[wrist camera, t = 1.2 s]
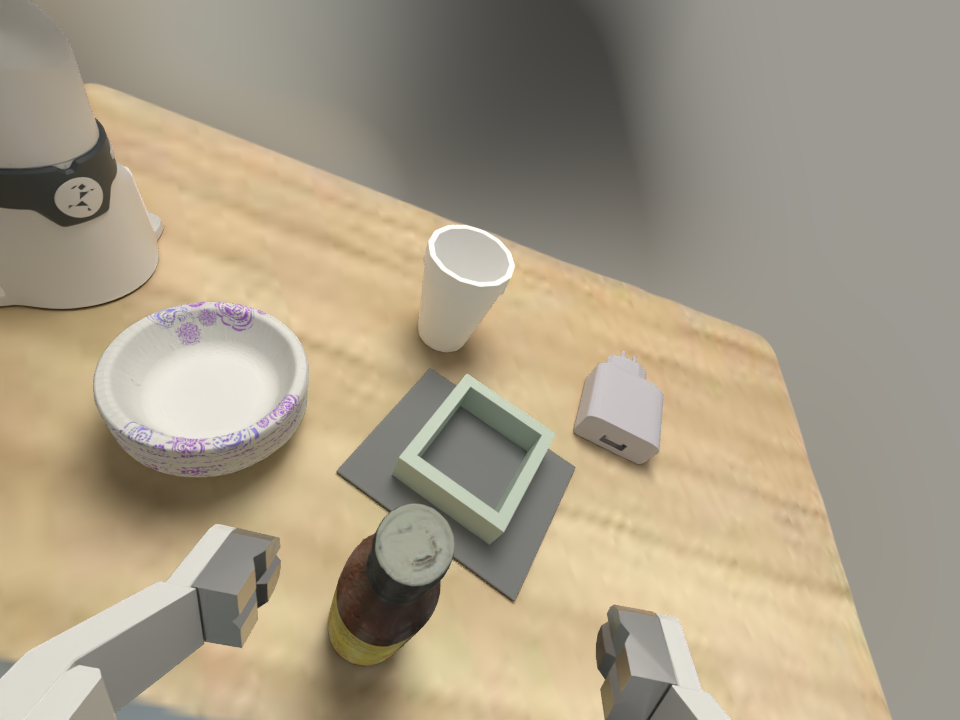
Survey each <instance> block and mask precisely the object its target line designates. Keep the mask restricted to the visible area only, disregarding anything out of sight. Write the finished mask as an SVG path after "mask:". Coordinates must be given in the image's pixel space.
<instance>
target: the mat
mask: <svg viewBox="0 0 960 720" xmlns="http://www.w3.org/2000/svg"><path fill="white" fill-rule="evenodd" d="M455 387H456V385H455V384H453V383H452V382H450V381H449V380H447V379H446V378H444V377H443V376H441V375H440V374H438V373H437V372H435V371H434V370H433V369H431V368H430V369H429V370H428V371H427V372H426V373H425V374H424V375H423V376H422V378H421V379H420V380H419V381H418V382H417V383H416V384H415V385H414V386H413V387H412V389H411V390H410V391H409V392H408V393H407V394H406V395H405V396H404V397H403V398H402V400H401V401H400V402H399V403H398V404H397V405H396V406H395V407H394V408H393V409H392V411H391V412H390V413H389V414H388V415H387V416H386V417H385V418H384V419H383V420H382V422H381V423H380V424H379V425H378V426H377V427H376V428H375V429H374V430H373V431H372V433H371V434H370V435H369V436H368V437H367V438H366V439H365V440H364V441H363V442H362V444H361V445H360V446H359V447H358V448H357V449H356V450H355V451H354V452H353V453H352V455H351V456H350V457H349V458H348V459H347V460H346V461H345V462H344V463H343V464H342V466H341V467H340V468H339V469H338V470H337V473H338V474H339V475H341V476H342V477H343V478H345V479H346V480H348V481H349V482H350V483H352V484H353V485H354V486H356V487H357V488H359V489H360V490H361V491H363V492H364V493H365V494H367V495H368V496H370V497H371V498H372V499H374V500H375V501H376V502H378V503H379V504H380V505H382V506H383V507H385V508H386V509H387V510H389V511H392V510H394V509H396V508H398V507H400V506H402V505H407V504H423V505H426V506H428V507H431V508H433V509H435V510H436V511H438V512H439V513H440V514H441V515H442V516H443V517H444V518H445V519H446V520H447V521H448V523H449V526H450V528H451V530H452V532H453V535H454V540H455V552H454V556H453V558H454V559H456V560H457V561H459V562H460V563H461V564H463V565H464V566H465V567H467V568H468V569H470V570H471V571H472V572H474V573H475V574H476V575H478V576H479V577H480V578H482V579H483V580H485V581H486V582H487V583H489V584H490V585H491V586H493V587H494V588H496V589H497V590H498V591H500V592H501V593H502V594H504V595H505V596H507V597H508V598H509V599H511V600H512V601H515V599H516V597H517V595H518V592H519V590H520V588H521V586H522V584H523V581H524V579H525V577H526V575H527V573H528V570H529V568H530V566H531V564H532V562H533V559H534V557H535V555H536V553H537V551H538V548H539V546H540V544H541V542H542V540H543V537H544V535H545V533H546V531H547V529H548V526H549V524H550V522H551V520H552V518H553V515H554V513H555V511H556V509H557V507H558V505H559V502H560V500H561V498H562V496H563V494H564V491H565V489H566V487H567V485H568V483H569V480H570V478H571V476H572V474H573V472H574V469H575V467H574V466H573V465H572V464H570V463H569V462H567V461H566V460H564V459H563V458H561V457H560V456H558V455H557V454H555V453H554V452H552V451H551V450H550V449H548V450H547V452H546V453H545V455H544V457H543V459H542V461H541V463H540V465H539V467H538V469H537V471H536V472H535V474H534V476H533V478H532V480H531V482H530V484H529V486H528V488H527V489H526V491H525V493H524V495H523V497H522V499H521V501H520V503H519V505H518V507H517V508H516V510H515V512H514V514H513V516H512V518H511V520H510V522H509V524H508V526H507V527H506V529H505V531H504V533H503V534H501V535H500V536H499V537H498V538H497V539H496V540H495V541H493V542H492V543H491V544H490V545H489V544H487V543H486V542H485V541H483V540H482V539H480V538H479V537H478V536H476V535H475V534H473V533H472V532H471V531H469V530H468V529H466V528H465V527H464V526H462V525H461V524H460V523H458V522H457V521H455V520H454V519H453V518H451V517H450V516H448V515H447V514H446V513H444V512H443V511H441V510H440V509H439V508H437V507H436V506H434V505H433V504H432V503H430V502H429V501H428V500H426V499H425V498H423V497H422V496H421V495H419V494H418V493H416V492H415V491H414V490H412V489H411V488H409V487H408V486H407V485H405V484H404V483H403V482H401V481H400V480H398V479H397V478H396V477H394V476H393V475H392V473H393V471H394V468H395V466H396V463H397V461H398V458H399V456H400V455H401V454H402V453H403V452H404V450H405V449H406V448H407V447H408V445H409V444H410V443H411V442H412V440H413V439H414V438H415V437H416V435H417V434H418V433H419V432H420V431H421V429H422V428H423V427H424V426H425V424H426V423H427V422H428V421H429V419H430V418H431V417H432V416H433V415H434V413H435V412H436V411H437V410H438V408H439V407H440V406H441V405H442V403H443V402H444V401H445V400H446V398H447V397H448V396H449V395H450V394H451V392H452V391H453V390H454V389H455ZM526 453H527V451H525V450H524V449H522V448H521V447H519V446H518V445H517V444H515V443H514V442H512V441H511V440H509V439H508V438H506V437H505V436H503V435H502V434H501V433H499V432H498V431H496V430H495V429H493V428H492V427H490V426H489V425H487V424H486V423H485V422H483V421H482V420H480V419H479V418H477V417H476V416H474V415H473V414H471V413H470V412H469V411H467V410H466V409H464V408H463V407H461V406H460V407H459V408H458V410H457V411H456V412H455V413H454V415H453V416H452V417H451V419H450V420H449V421H448V423H447V424H446V425H445V427H444V428H443V429H442V430H441V432H440V433H439V434H438V436H437V437H436V438H435V440H434V441H433V442H432V443H431V445H430V446H429V447H428V449H427V450H426V451H425V453H424V454H423V455H422V456H421V458H422V459H423V460H425V461H426V462H427V463H429V464H430V465H432V466H433V467H435V468H436V469H437V470H439V471H440V472H442V473H443V474H444V475H446V476H447V477H449V478H450V479H451V480H453V481H454V482H456V483H457V484H458V485H460V486H461V487H463V488H464V489H466V490H467V491H468V492H470V493H471V494H473V495H474V496H475V497H477V498H478V499H480V500H481V501H482V502H484V503H485V504H487V505H488V506H489V507H491V508H492V509H494V510H495V508H496V506H497V505H498V503H499V501H500V499H501V497H502V496H503V494H504V492H505V490H506V489H507V487H508V485H509V483H510V482H511V480H512V478H513V476H514V474H515V473H516V471H517V469H518V467H519V466H520V464H521V462H522V460H523V459H524V457H525V455H526Z"/></svg>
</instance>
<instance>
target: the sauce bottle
mask: <svg viewBox="0 0 960 720" xmlns="http://www.w3.org/2000/svg"><path fill="white" fill-rule="evenodd" d="M454 552H455V540H454V535H453V532H452V530H451V528H450V526H449V523H448V521H447V520H446V519H445V518H444V517H443V516H442V515H441V514H440V513H439V512H438V511H436V510H435V509H433V508H431V507H428V506H426V505H423V504H407V505H402V506H400V507H398V508H396V509H394V510H392V511H390V513H389V514H388V515H387V516H386V517H385V518H384V519H383V520H382V522H381V523H380V525H379V527H378V529H377V530H376V533H375V534H373V535H371V536H369V537H368V538H366V539H364V540H363V541H362V542H361V543H360V544H359V545H358V546H357V547H356V548H355V550H354V551H353V553H352V554H351V556H350V557H349V559H348V560H347V562H346V564H345V567H344V569H343V571H342V573H341V575H340V578H339V580H338V584H337V587H336V591H335V594H334V597H333V601H332V605H331V608H330V613H329V617H328V631H329V637H330V640H331V643H332V645H333V647H334V650H335V651H336V652H337V653H338V655H339V656H340V657H342V658H343V659H345V660H346V661H348V662H350V663H353V664H355V665H359V666H367V665H374V664H377V663H380V662H382V661H384V660H386V659H388V658H389V657H391V656H392V655H393V654H394V653H395V652H396V651H397V650H398V649H399V648H401V647H402V646H403V645H404V644H405V643H406V642H408V640H410V639H411V638H412V637H413V636H414V635H415V634H416V633H417V632H418V631H419V630H420V629H421V628H422V627H423V626H424V625H425V624H426V623H427V621H428V620H429V619H430V617H431V615H432V614H433V612H434V610H435V608H436V605H437V603H438V599H439V595H440V580H441V579H442V578H443V577H444V575H445V574H446V572H447V570H448V569H449V566H450V564H451V562H452V560H453V556H454Z"/></svg>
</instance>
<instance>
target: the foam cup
mask: <svg viewBox="0 0 960 720" xmlns="http://www.w3.org/2000/svg"><path fill="white" fill-rule="evenodd" d="M514 267H515V265H514V262H513V258H512V255H511V252H510V251H509V250H508V249H507V248H506V247H505V246H504V244H503V243H502V242H501V241H500V240H499V239H497V238H495V237H494V236H492V235H490V234H489V233H487V232H486V231H484V230H481V229H477V228H474V227H471V226H467V225H447V226H445V227H442V228H440V229H438V230H436V231H434V233H433V235H432V236H431V238H430V240H429V241H428V244H427V248H426V251H425V255H424V275H423V284H422V293H421V302H420V311H419V320H418V331H419V336H420V337H421V339H422V340H423V342H424V343H425V344H426V345H428V346H429V347H431V348H432V349H434V350H437V351H441V352H453V351H457V350H458V349H460V348H461V347H463V346H464V344H465V343H466V342H467V341H468V339H469V338H470V336H471V335H472V333H473V332H474V331H475V329H476V328H477V326H478V325H479V324H480V322H481V321H482V319H483V318H484V317H485V315H486V314H487V312H488V311H489V309H490V308H491V307H492V305H493V304H494V302H495V301H496V300H497V298H498V297H499V296H500V295H502V294H503V293H504V291H505V288H506V286H507V284H508V282H509V280H510V278H511V276H512V273H513V270H514Z"/></svg>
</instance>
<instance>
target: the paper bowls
mask: <svg viewBox="0 0 960 720" xmlns="http://www.w3.org/2000/svg"><path fill="white" fill-rule="evenodd" d="M308 383H309V365H308V359H307V355H306V353H305V350H304V348H303V346H302V344H301V343H300V341H299V339H298V338H297V337H296V335H295V334H294V333H293V332H292V331H291V330H290V329H289V328H288V327H287V326H286V325H284V324H283V323H282V322H280V321H279V320H277V319H276V318H274V317H273V316H271V315H269V314H267V313H265V312H262V311H260V310H257V309H254V308H251V307H247V306H243V305H239V304H234V303H225V302H198V303H190V304H184V305H179V306H175V307H171V308H168V309H164V310H161V311H158V312H156V313H154V314H151V315H149V316H147V317H145V318H143V319H141V320H139V321H137V322H136V323H134V324H132V325H131V326H129V327H128V328H127V329H125V330H124V331H123V332H121V333H120V334H119V335H118V336H117V337H116V338H115V339H114V340H113V341H112V342H111V343H110V345H109V346H108V347H107V349H106V350H105V351H104V353H103V354H102V356H101V358H100V360H99V362H98V364H97V367H96V371H95V374H94V380H93V392H94V399H95V402H96V406H97V408H98V410H99V412H100V415H101V416H102V418H103V419H104V421H105V423H106V425H107V427H108V428H109V430H110V431H111V433H112V435H113V436H114V438H115V439H116V440H117V442H118V443H119V444H120V446H121V447H122V448H123V449H124V450H125V451H126V452H127V453H128V454H129V455H130V456H132V457H133V458H134V459H135V460H136V461H138V462H140V463H142V464H143V465H145V466H147V467H149V468H151V469H154V470H156V471H159V472H162V473H165V474H170V475H176V476H182V477H210V476H219V475H225V474H230V473H233V472H237V471H240V470H242V469H245V468H247V467H250V466H252V465H254V464H256V463H258V462H260V461H262V460H264V459H265V458H267V457H268V456H270V455H271V454H272V453H274V452H275V451H277V450H278V449H279V448H281V447H282V446H283V445H284V444H285V443H286V442H287V441H288V440H289V439H290V438H291V437H292V436H293V434H294V433H295V431H296V430H297V428H298V426H299V425H300V423H301V421H302V418H303V416H304V413H305V410H306V406H307V398H308Z"/></svg>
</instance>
